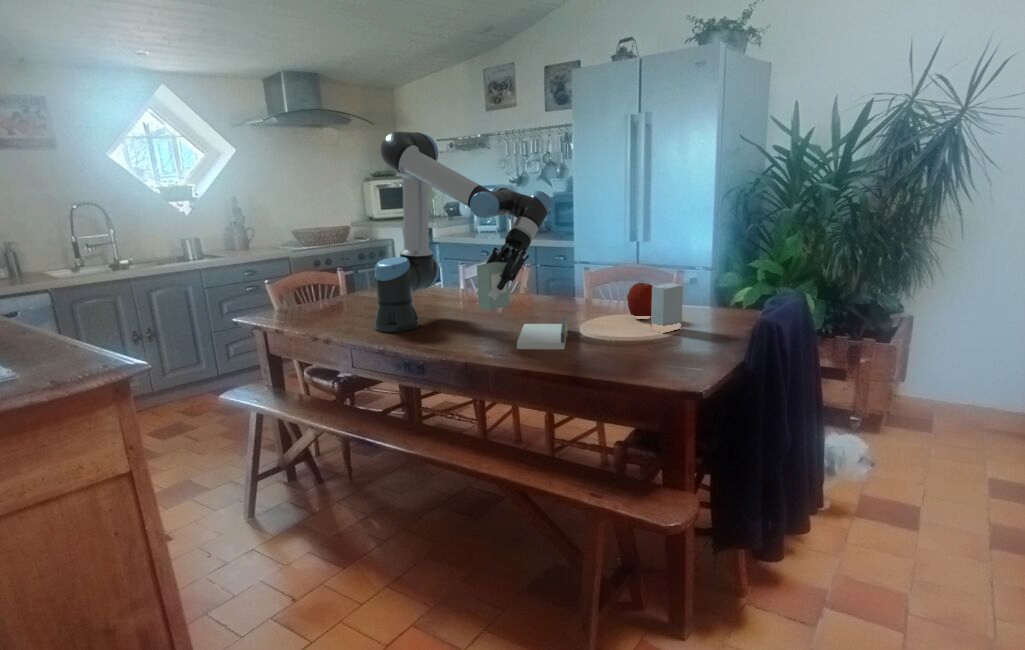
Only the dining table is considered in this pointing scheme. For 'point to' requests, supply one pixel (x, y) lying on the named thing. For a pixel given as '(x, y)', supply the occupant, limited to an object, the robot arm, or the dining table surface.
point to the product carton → (491, 286)
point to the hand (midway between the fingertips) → (484, 296)
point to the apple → (640, 299)
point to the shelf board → (543, 336)
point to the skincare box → (667, 304)
